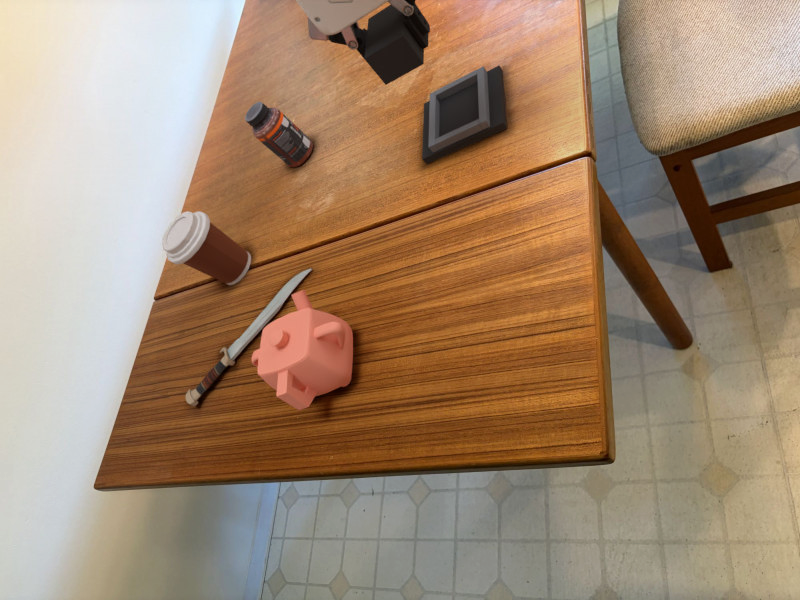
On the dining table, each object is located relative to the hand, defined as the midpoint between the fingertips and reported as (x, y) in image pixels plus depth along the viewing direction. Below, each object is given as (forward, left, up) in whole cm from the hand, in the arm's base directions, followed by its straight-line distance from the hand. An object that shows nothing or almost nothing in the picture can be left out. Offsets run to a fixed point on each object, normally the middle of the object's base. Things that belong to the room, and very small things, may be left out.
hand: (403, 51), depth 62 cm
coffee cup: (+44, +5, -16) cm, 47 cm away
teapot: (+20, +27, -16) cm, 37 cm away
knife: (+37, +19, -16) cm, 44 cm away
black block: (0, 0, 0) cm, 0 cm away
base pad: (+1, -5, -16) cm, 16 cm away
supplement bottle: (+33, -15, -16) cm, 39 cm away
